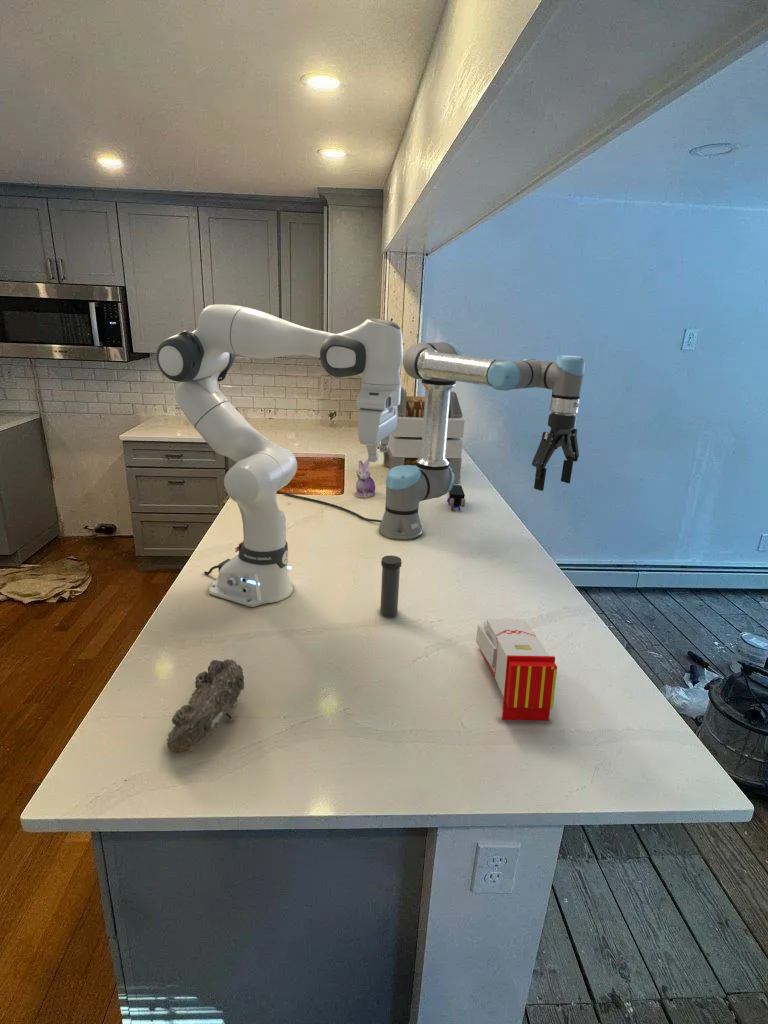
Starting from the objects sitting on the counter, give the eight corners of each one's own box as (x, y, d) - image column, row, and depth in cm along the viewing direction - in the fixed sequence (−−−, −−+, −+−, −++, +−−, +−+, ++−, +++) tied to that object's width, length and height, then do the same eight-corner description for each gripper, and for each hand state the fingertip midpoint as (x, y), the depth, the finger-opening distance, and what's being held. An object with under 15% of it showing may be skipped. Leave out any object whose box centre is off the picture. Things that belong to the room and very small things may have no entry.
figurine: (360, 499, 233) (361, 464, 228) (349, 492, 242) (350, 458, 237) (380, 497, 237) (381, 462, 232) (369, 490, 246) (370, 456, 241)
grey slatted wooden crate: (382, 463, 289) (386, 382, 275) (445, 464, 293) (451, 384, 279) (390, 482, 257) (394, 392, 243) (460, 483, 261) (468, 394, 247)
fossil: (192, 660, 117) (244, 628, 112) (224, 691, 120) (276, 661, 115) (142, 746, 98) (202, 712, 93) (182, 779, 101) (242, 748, 96)
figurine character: (465, 515, 224) (460, 499, 237) (467, 498, 221) (462, 483, 234) (448, 515, 224) (444, 499, 237) (450, 498, 220) (445, 482, 234)
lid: (381, 560, 146) (381, 554, 145) (401, 561, 146) (401, 555, 145) (380, 569, 141) (380, 563, 140) (401, 570, 141) (401, 564, 140)
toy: (523, 604, 135) (566, 662, 106) (518, 656, 138) (559, 727, 109) (472, 603, 135) (501, 661, 105) (468, 655, 138) (496, 726, 108)
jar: (380, 607, 150) (382, 556, 145) (397, 608, 150) (400, 557, 145) (379, 616, 146) (382, 564, 141) (397, 617, 146) (400, 565, 141)
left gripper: (379, 389, 136) (377, 445, 141) (353, 400, 118) (352, 465, 122) (405, 391, 135) (402, 448, 139) (382, 403, 116) (380, 468, 121)
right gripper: (548, 419, 148) (537, 496, 155) (598, 411, 163) (586, 482, 171) (525, 414, 153) (515, 489, 160) (575, 407, 169) (564, 476, 176)
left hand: (378, 456), depth 131 cm, fingers open, 8 cm apart
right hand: (552, 485), depth 166 cm, fingers open, 13 cm apart
